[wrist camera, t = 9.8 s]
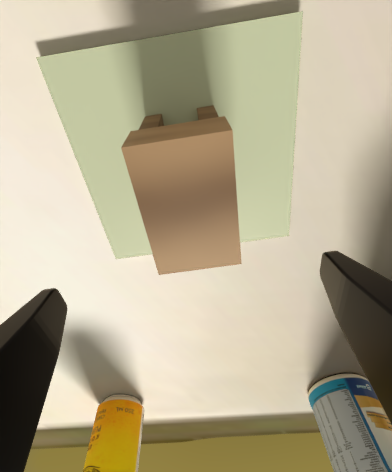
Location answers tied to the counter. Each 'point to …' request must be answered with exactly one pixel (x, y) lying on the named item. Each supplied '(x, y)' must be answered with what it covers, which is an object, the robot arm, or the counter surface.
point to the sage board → (185, 114)
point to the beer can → (116, 436)
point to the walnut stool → (186, 190)
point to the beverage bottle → (352, 424)
